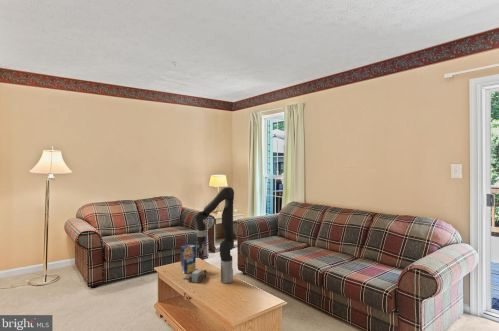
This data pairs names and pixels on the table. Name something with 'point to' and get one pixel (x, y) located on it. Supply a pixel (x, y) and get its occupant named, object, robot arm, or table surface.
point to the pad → (187, 277)
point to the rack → (199, 277)
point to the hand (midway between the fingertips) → (201, 255)
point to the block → (196, 275)
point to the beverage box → (188, 258)
